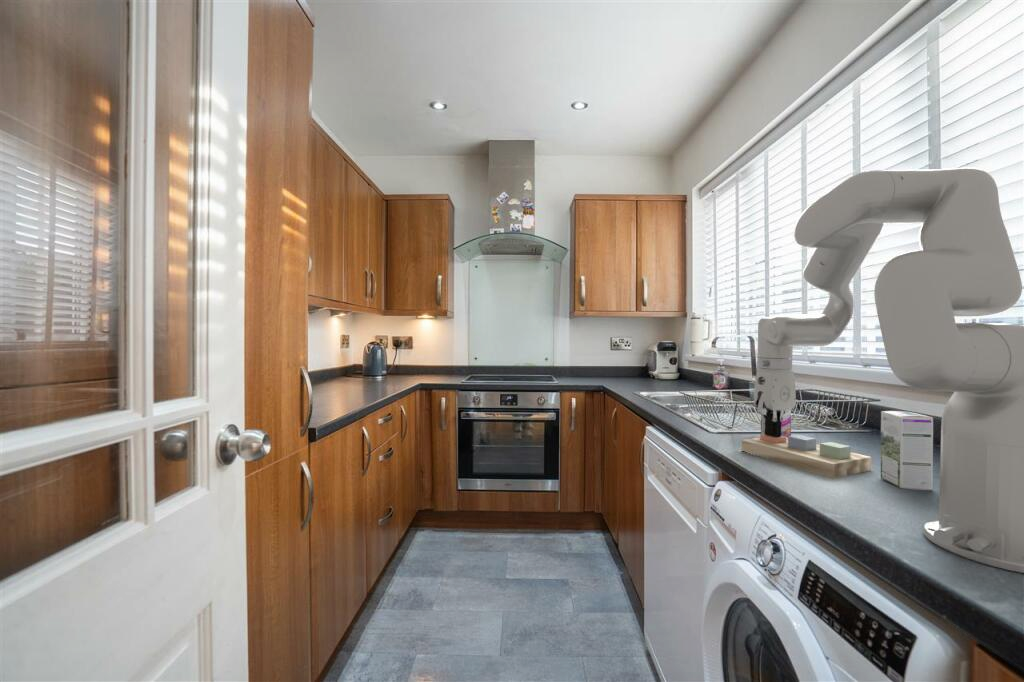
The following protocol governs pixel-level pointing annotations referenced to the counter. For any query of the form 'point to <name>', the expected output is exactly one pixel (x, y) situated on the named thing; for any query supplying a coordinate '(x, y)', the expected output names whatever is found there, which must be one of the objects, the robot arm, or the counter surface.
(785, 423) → the candy bar box
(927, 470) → the syrup box
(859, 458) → the button panel
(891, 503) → the counter surface
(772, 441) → the terracotta button
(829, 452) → the sage green button
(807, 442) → the slate grey button
